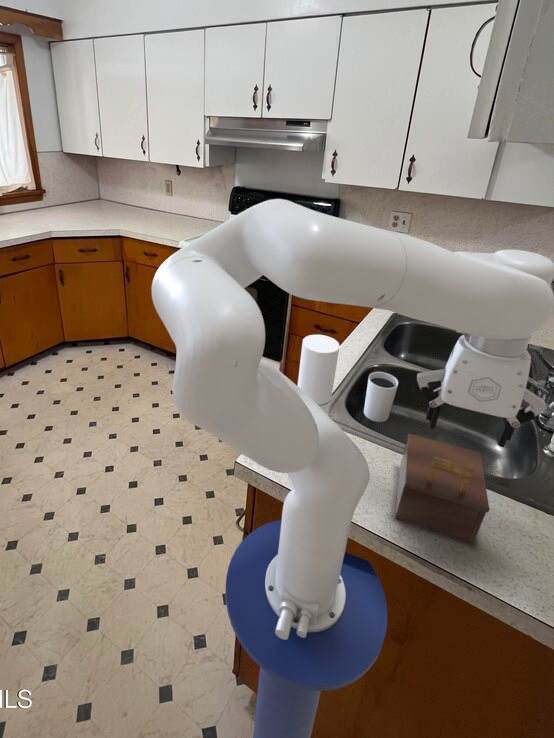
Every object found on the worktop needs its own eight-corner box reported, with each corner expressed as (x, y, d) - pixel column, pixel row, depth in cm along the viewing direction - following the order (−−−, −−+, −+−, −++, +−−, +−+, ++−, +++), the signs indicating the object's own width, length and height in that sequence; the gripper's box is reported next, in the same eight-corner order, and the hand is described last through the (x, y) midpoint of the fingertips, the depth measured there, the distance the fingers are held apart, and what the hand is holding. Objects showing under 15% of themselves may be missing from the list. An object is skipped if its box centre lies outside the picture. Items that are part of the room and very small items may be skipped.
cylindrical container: (321, 456, 90) (337, 355, 79) (288, 447, 92) (299, 348, 81) (325, 434, 96) (341, 338, 86) (294, 426, 98) (305, 332, 88)
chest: (472, 545, 72) (487, 509, 69) (395, 518, 77) (404, 483, 73) (467, 490, 83) (479, 456, 79) (399, 469, 87) (407, 436, 84)
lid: (488, 512, 68) (499, 485, 65) (404, 486, 72) (412, 459, 70) (479, 455, 79) (489, 430, 77) (407, 436, 84) (414, 411, 81)
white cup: (393, 411, 104) (401, 377, 100) (386, 427, 99) (394, 392, 95) (366, 401, 107) (373, 368, 103) (358, 416, 102) (364, 382, 98)
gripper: (430, 337, 60) (405, 431, 67) (577, 365, 54) (533, 465, 61) (429, 315, 66) (407, 403, 73) (561, 339, 60) (523, 432, 67)
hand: (464, 431), depth 67 cm, fingers open, 9 cm apart
